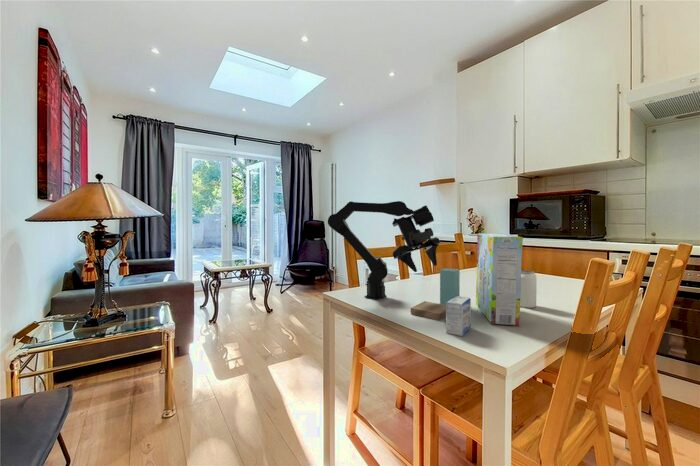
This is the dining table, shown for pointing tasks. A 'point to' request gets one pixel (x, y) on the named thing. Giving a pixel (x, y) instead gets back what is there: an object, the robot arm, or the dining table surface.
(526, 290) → the can
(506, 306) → the snack box
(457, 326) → the medicine box
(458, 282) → the carton
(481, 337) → the dining table surface
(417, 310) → the podium
